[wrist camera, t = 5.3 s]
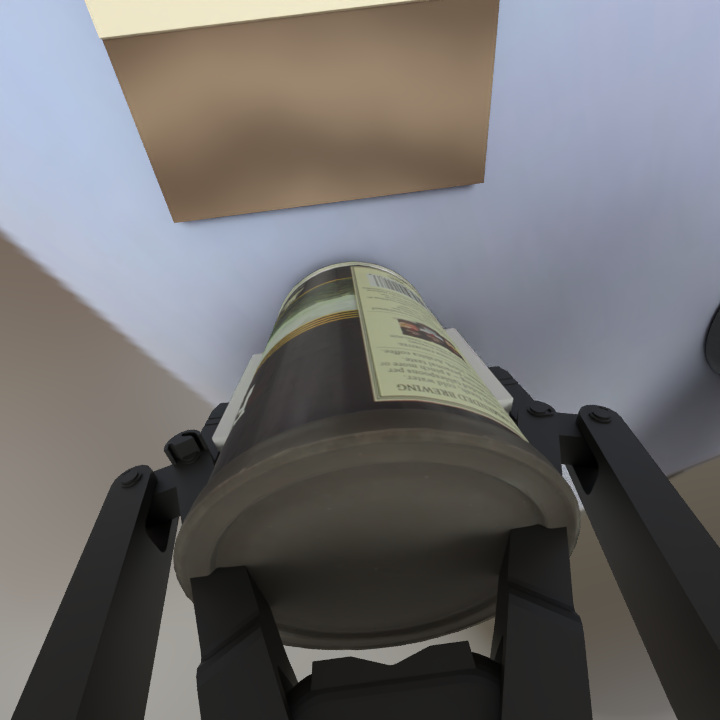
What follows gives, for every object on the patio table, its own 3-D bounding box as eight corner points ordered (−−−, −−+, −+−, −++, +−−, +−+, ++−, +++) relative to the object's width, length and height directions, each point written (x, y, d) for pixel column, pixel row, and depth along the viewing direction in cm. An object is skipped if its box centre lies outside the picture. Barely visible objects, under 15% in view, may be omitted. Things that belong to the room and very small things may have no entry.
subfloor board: (473, 182, 19) (483, 182, 17) (185, 220, 18) (174, 222, 17) (510, -342, 11) (535, -415, 9) (-5, -288, 10) (-53, -356, 9)
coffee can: (283, 403, 22) (220, 666, 10) (266, 259, 17) (91, 442, 5) (420, 400, 23) (515, 642, 11) (443, 262, 18) (673, 425, 6)
